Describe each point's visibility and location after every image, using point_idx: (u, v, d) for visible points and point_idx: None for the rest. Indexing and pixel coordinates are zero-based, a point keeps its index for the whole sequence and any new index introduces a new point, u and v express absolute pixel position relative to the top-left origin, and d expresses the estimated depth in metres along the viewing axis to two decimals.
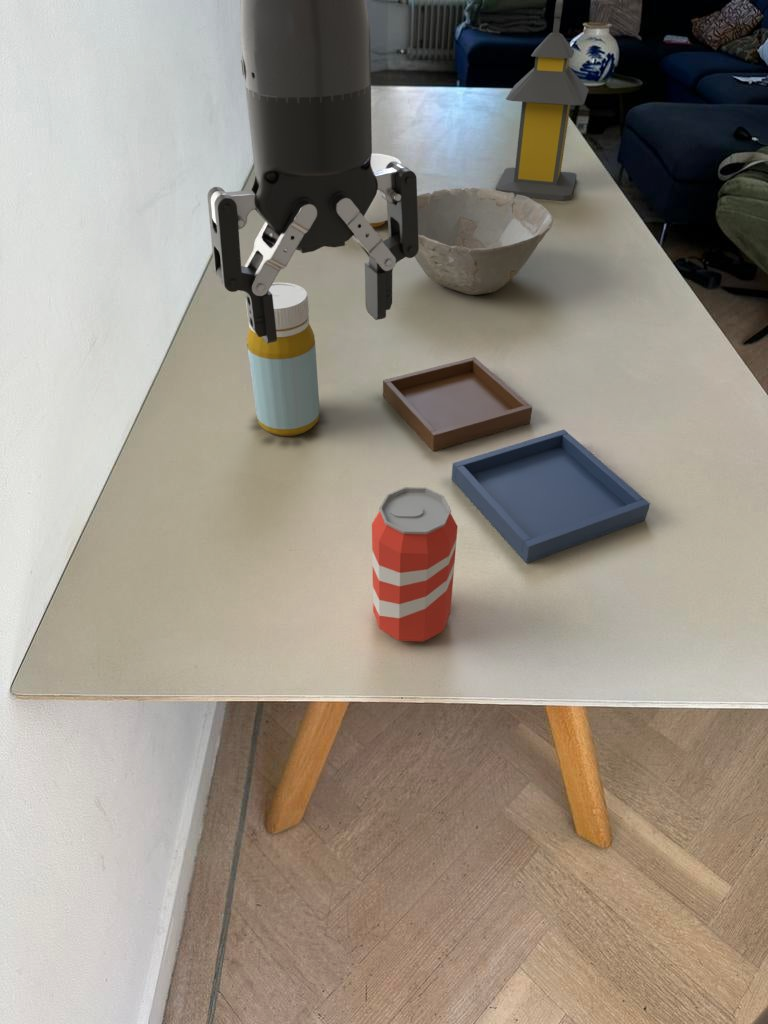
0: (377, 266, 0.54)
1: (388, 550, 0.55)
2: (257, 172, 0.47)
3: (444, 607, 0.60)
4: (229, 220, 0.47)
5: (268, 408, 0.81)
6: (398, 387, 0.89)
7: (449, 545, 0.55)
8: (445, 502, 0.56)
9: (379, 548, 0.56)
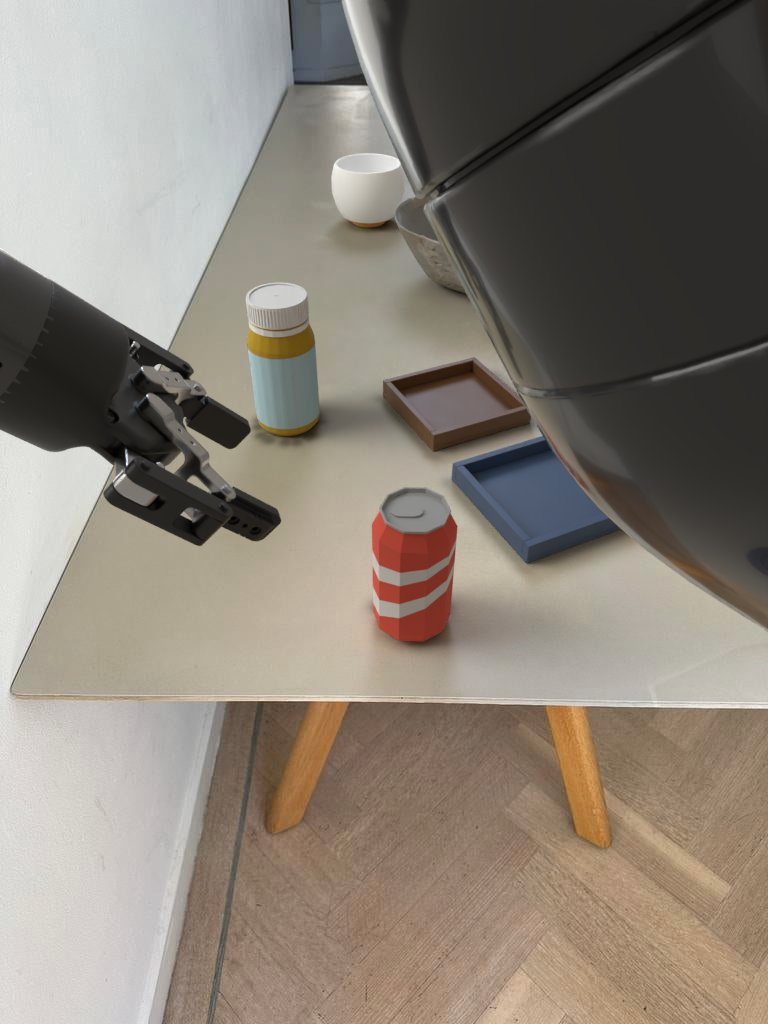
0: (199, 402, 0.47)
1: (388, 550, 0.55)
2: (98, 436, 0.37)
3: (444, 607, 0.60)
4: (158, 471, 0.36)
5: (268, 408, 0.81)
6: (398, 387, 0.89)
7: (449, 545, 0.55)
8: (445, 502, 0.56)
9: (379, 548, 0.56)
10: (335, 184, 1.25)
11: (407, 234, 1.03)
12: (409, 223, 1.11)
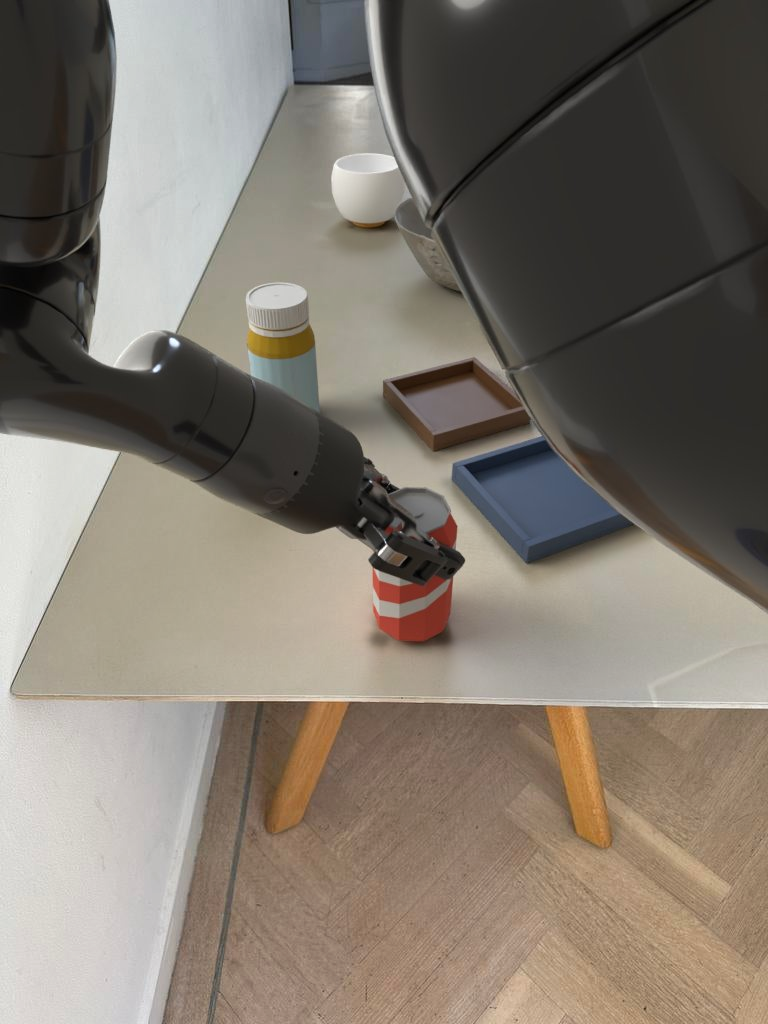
0: (386, 489, 0.58)
1: None
2: (350, 517, 0.48)
3: (444, 607, 0.60)
4: (406, 539, 0.48)
5: None
6: (398, 387, 0.89)
7: (449, 545, 0.55)
8: (445, 502, 0.56)
9: None
10: (335, 184, 1.25)
11: (407, 234, 1.03)
12: (409, 223, 1.11)
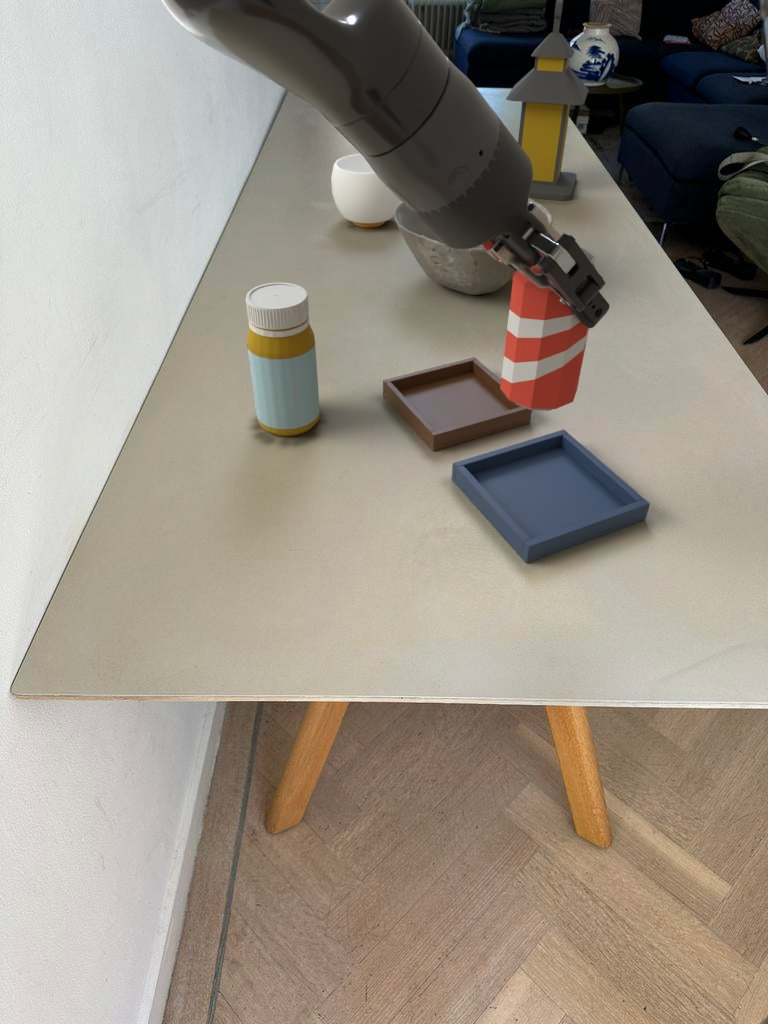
0: None
1: (534, 294, 0.55)
2: (519, 222, 0.48)
3: (578, 371, 0.60)
4: None
5: (268, 408, 0.81)
6: (398, 387, 0.89)
7: None
8: (587, 252, 0.56)
9: (523, 296, 0.56)
10: (335, 184, 1.25)
11: (407, 234, 1.03)
12: (409, 223, 1.11)
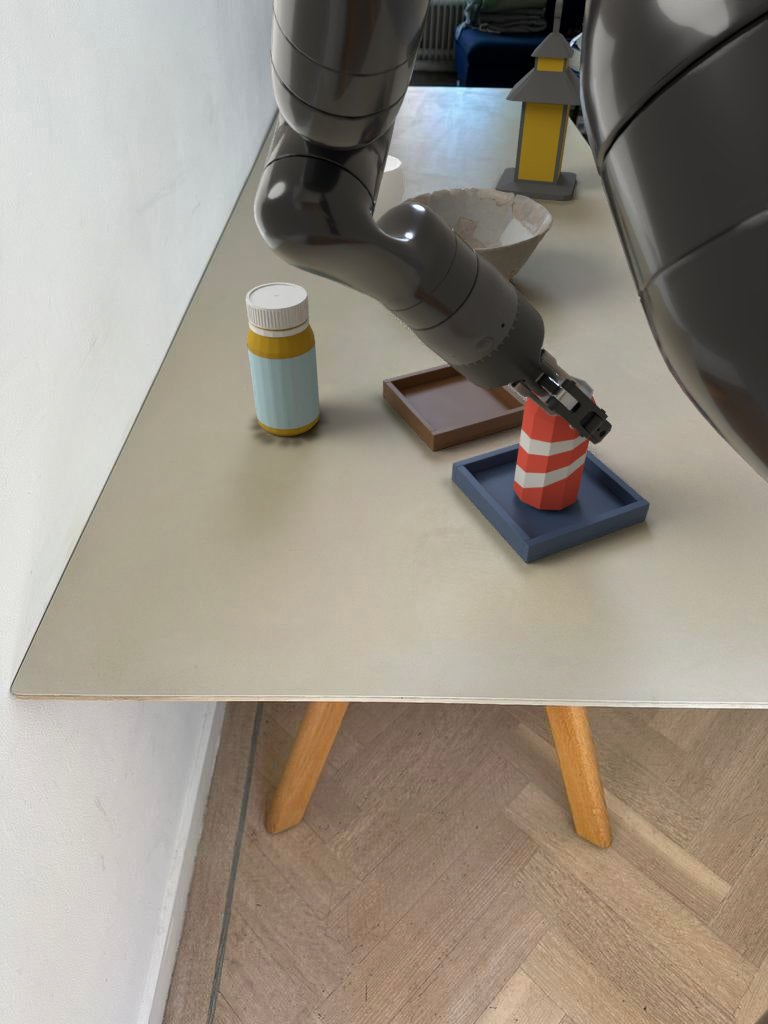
0: None
1: (542, 422, 0.66)
2: (533, 371, 0.58)
3: (579, 479, 0.71)
4: None
5: (268, 408, 0.81)
6: (398, 387, 0.89)
7: None
8: (587, 385, 0.67)
9: (533, 422, 0.67)
10: None
11: None
12: None
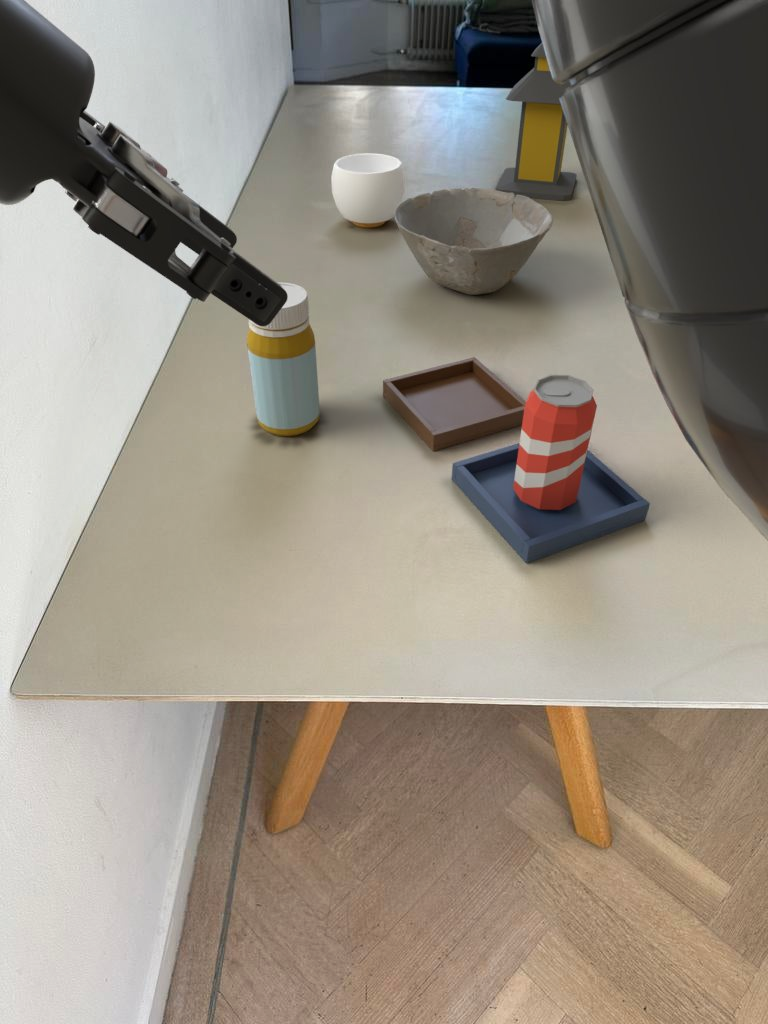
0: None
1: (542, 422, 0.66)
2: (69, 161, 0.31)
3: (579, 479, 0.71)
4: (144, 189, 0.31)
5: (268, 408, 0.81)
6: (398, 387, 0.89)
7: (592, 419, 0.66)
8: (587, 385, 0.67)
9: (533, 422, 0.67)
10: (335, 184, 1.25)
11: (407, 234, 1.03)
12: (409, 223, 1.11)
